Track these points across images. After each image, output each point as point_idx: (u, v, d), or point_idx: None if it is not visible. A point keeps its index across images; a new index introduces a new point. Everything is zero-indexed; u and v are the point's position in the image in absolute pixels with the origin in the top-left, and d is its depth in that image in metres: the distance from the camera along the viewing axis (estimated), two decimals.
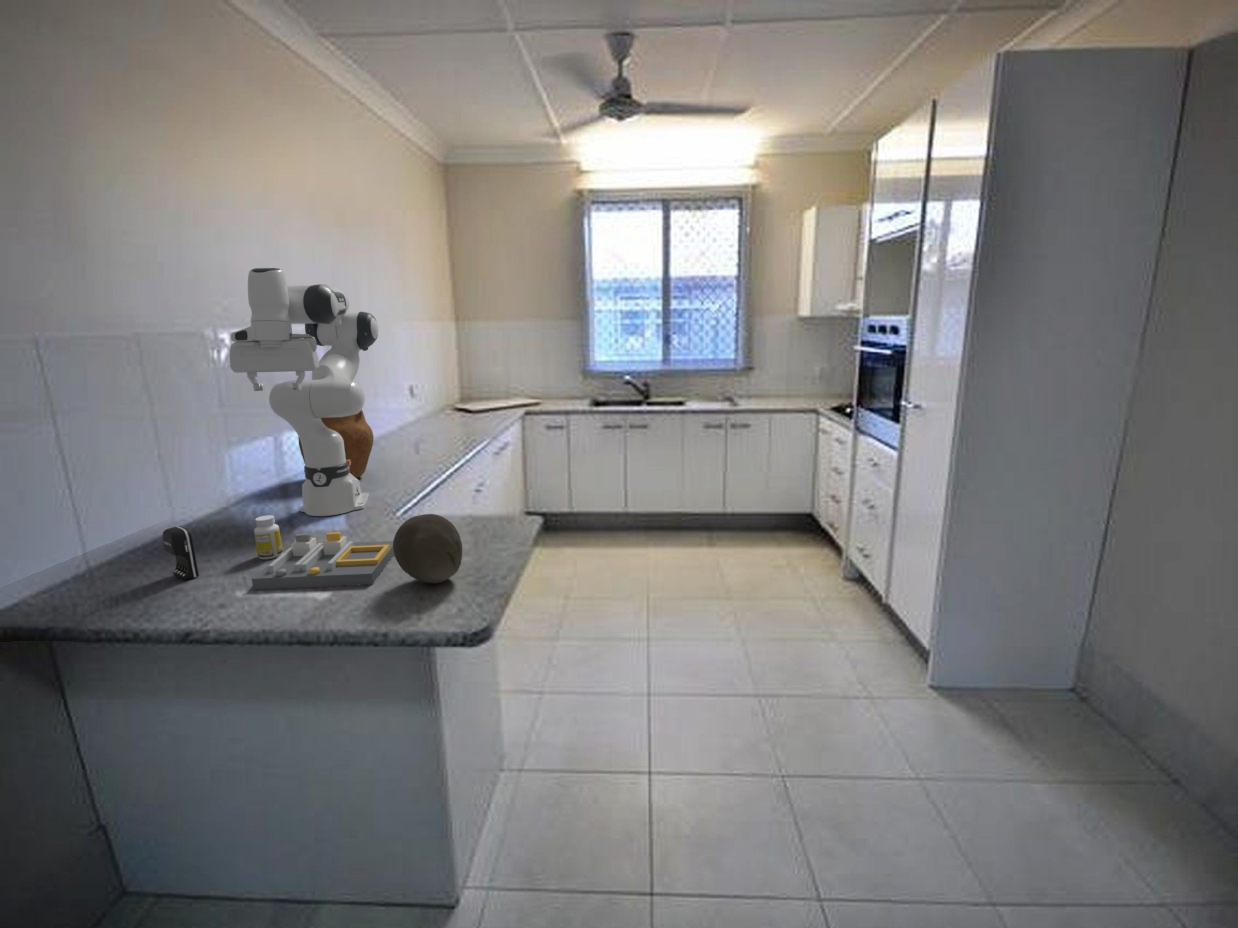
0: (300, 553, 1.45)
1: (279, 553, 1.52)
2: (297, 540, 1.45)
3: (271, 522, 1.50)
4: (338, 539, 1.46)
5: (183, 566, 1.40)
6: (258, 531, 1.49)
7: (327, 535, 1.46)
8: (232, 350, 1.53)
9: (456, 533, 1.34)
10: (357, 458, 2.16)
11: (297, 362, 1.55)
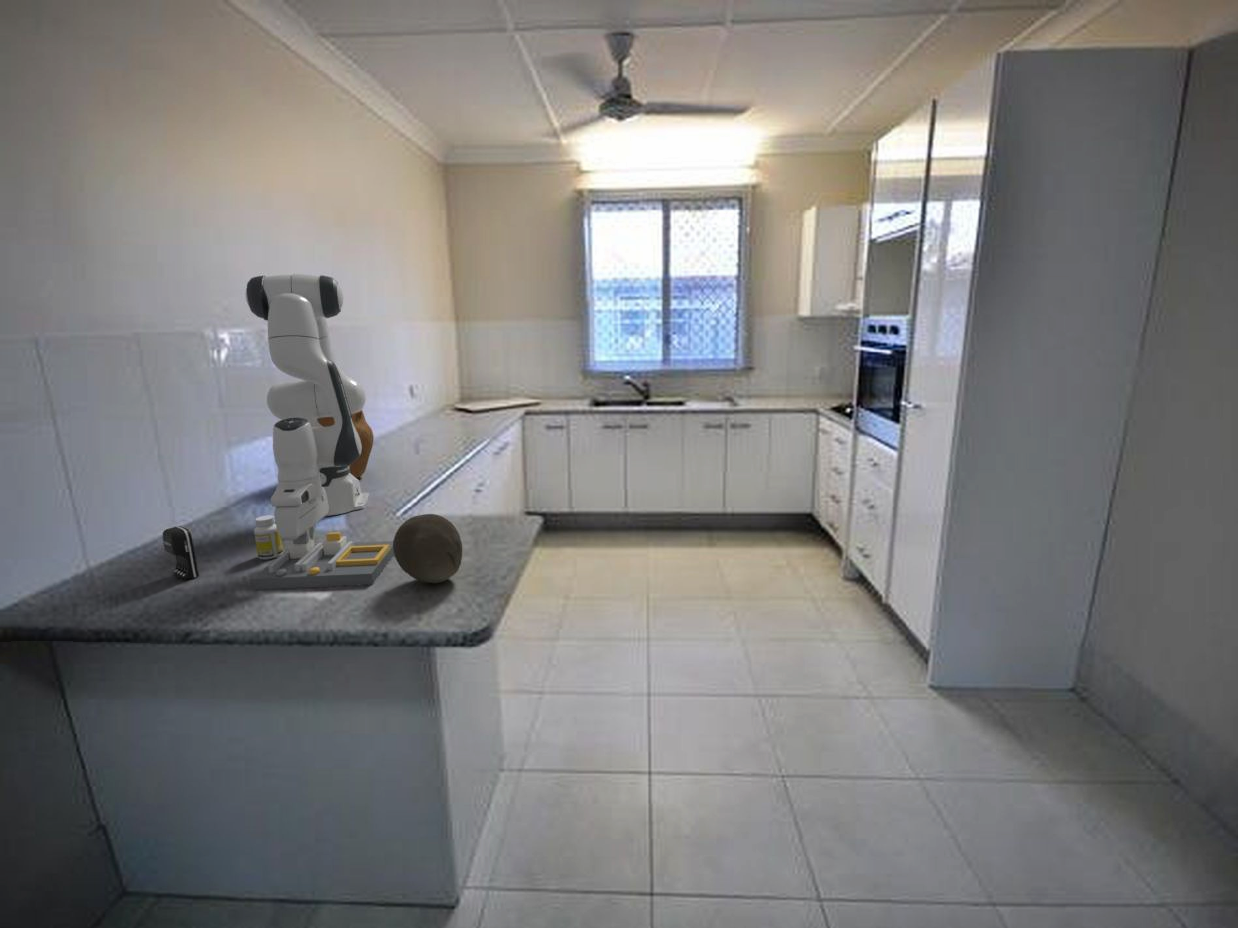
0: (297, 555, 1.43)
1: (279, 553, 1.52)
2: (294, 542, 1.44)
3: (271, 522, 1.50)
4: (338, 539, 1.46)
5: (183, 566, 1.40)
6: (258, 531, 1.49)
7: (327, 535, 1.46)
8: (298, 515, 1.38)
9: (456, 533, 1.34)
10: None
11: (323, 509, 1.53)
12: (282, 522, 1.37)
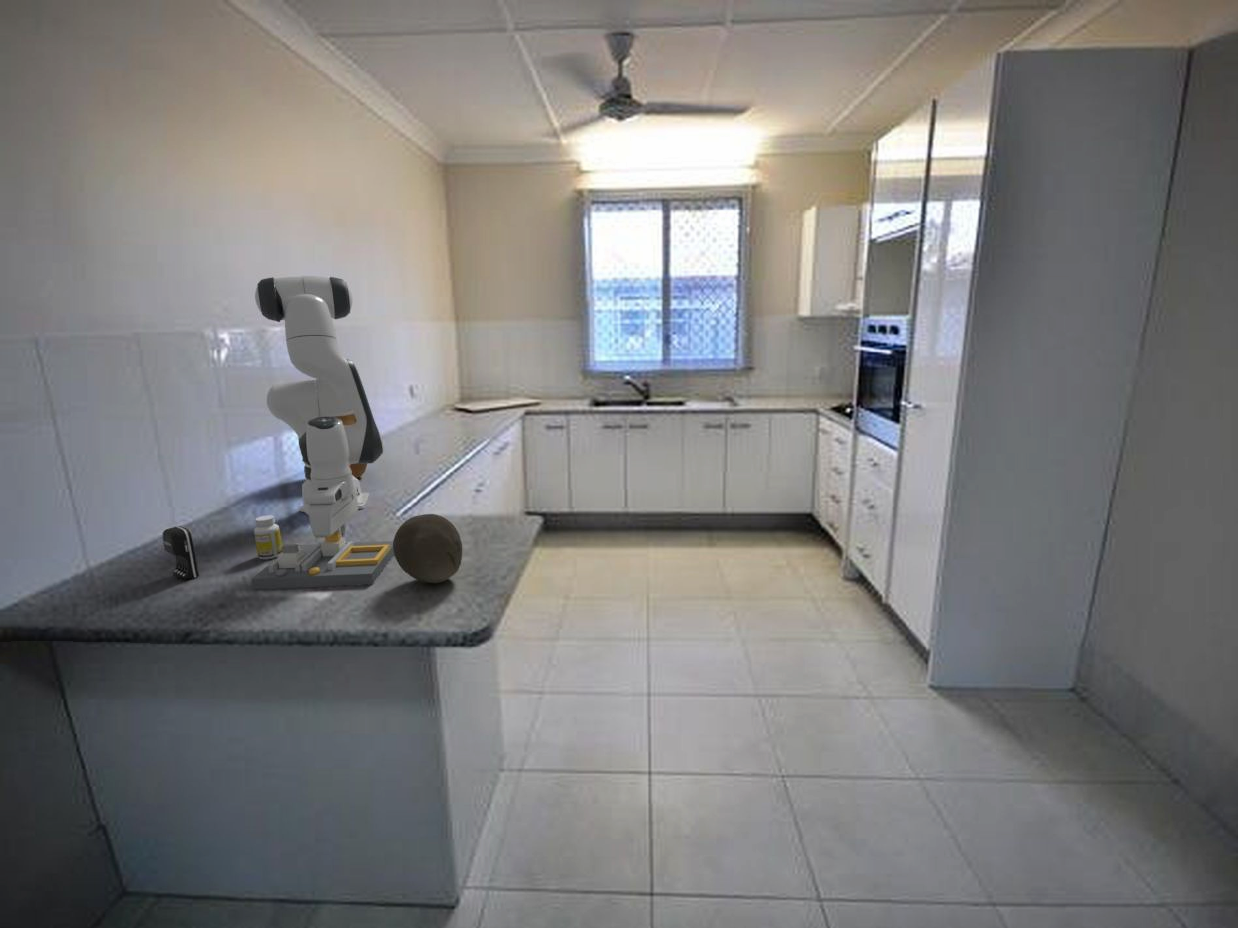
0: (286, 565, 1.38)
1: (279, 553, 1.52)
2: (283, 551, 1.39)
3: (271, 522, 1.50)
4: (337, 540, 1.45)
5: (183, 566, 1.40)
6: (258, 531, 1.49)
7: None
8: (331, 513, 1.39)
9: (456, 533, 1.34)
10: None
11: (353, 507, 1.54)
12: (317, 519, 1.38)
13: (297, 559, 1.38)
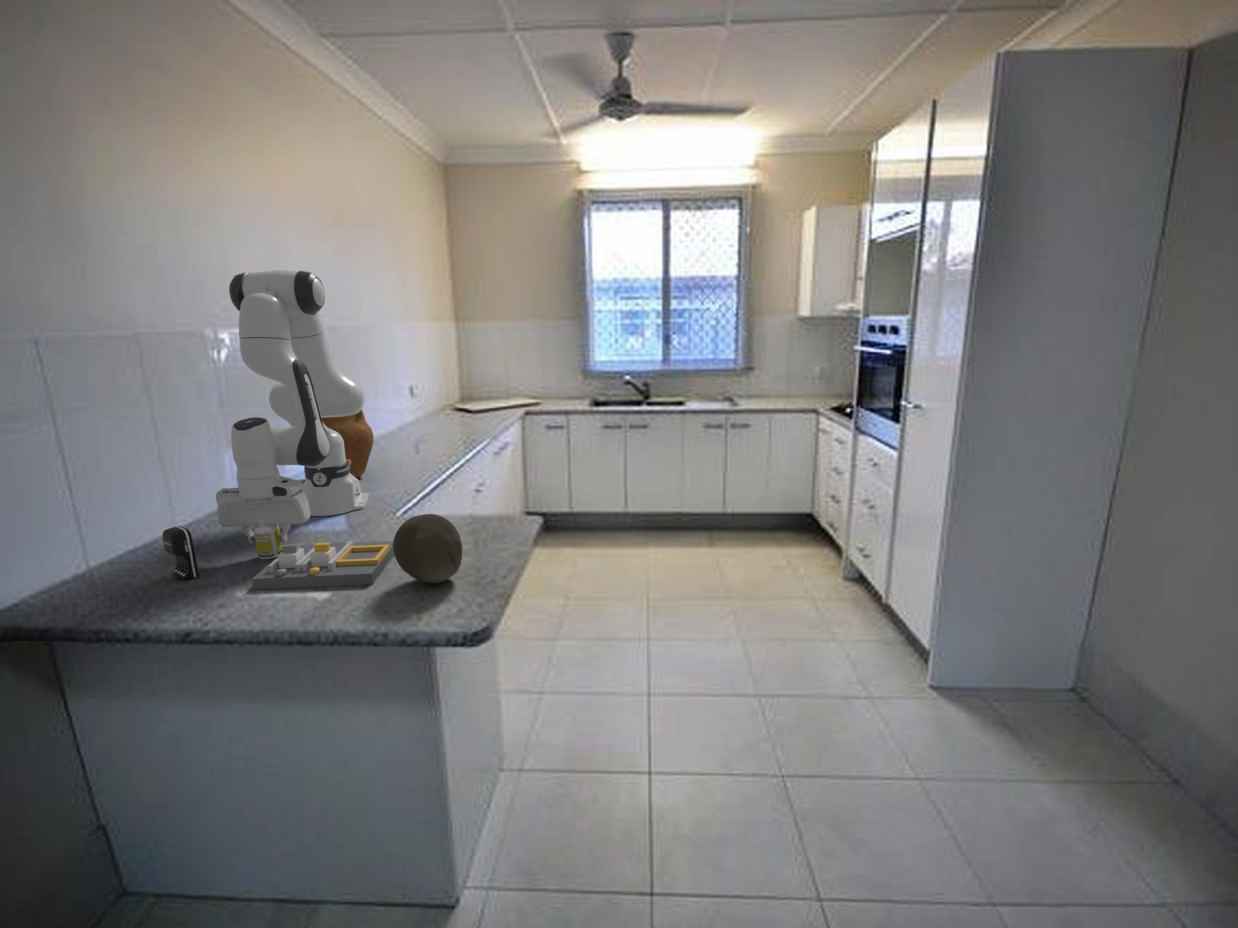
0: (286, 565, 1.38)
1: (279, 553, 1.52)
2: (283, 551, 1.39)
3: None
4: (326, 550, 1.39)
5: (183, 566, 1.40)
6: (258, 530, 1.49)
7: (315, 546, 1.39)
8: None
9: (456, 533, 1.34)
10: (357, 458, 2.16)
11: None
12: (304, 505, 1.50)
13: (297, 559, 1.38)
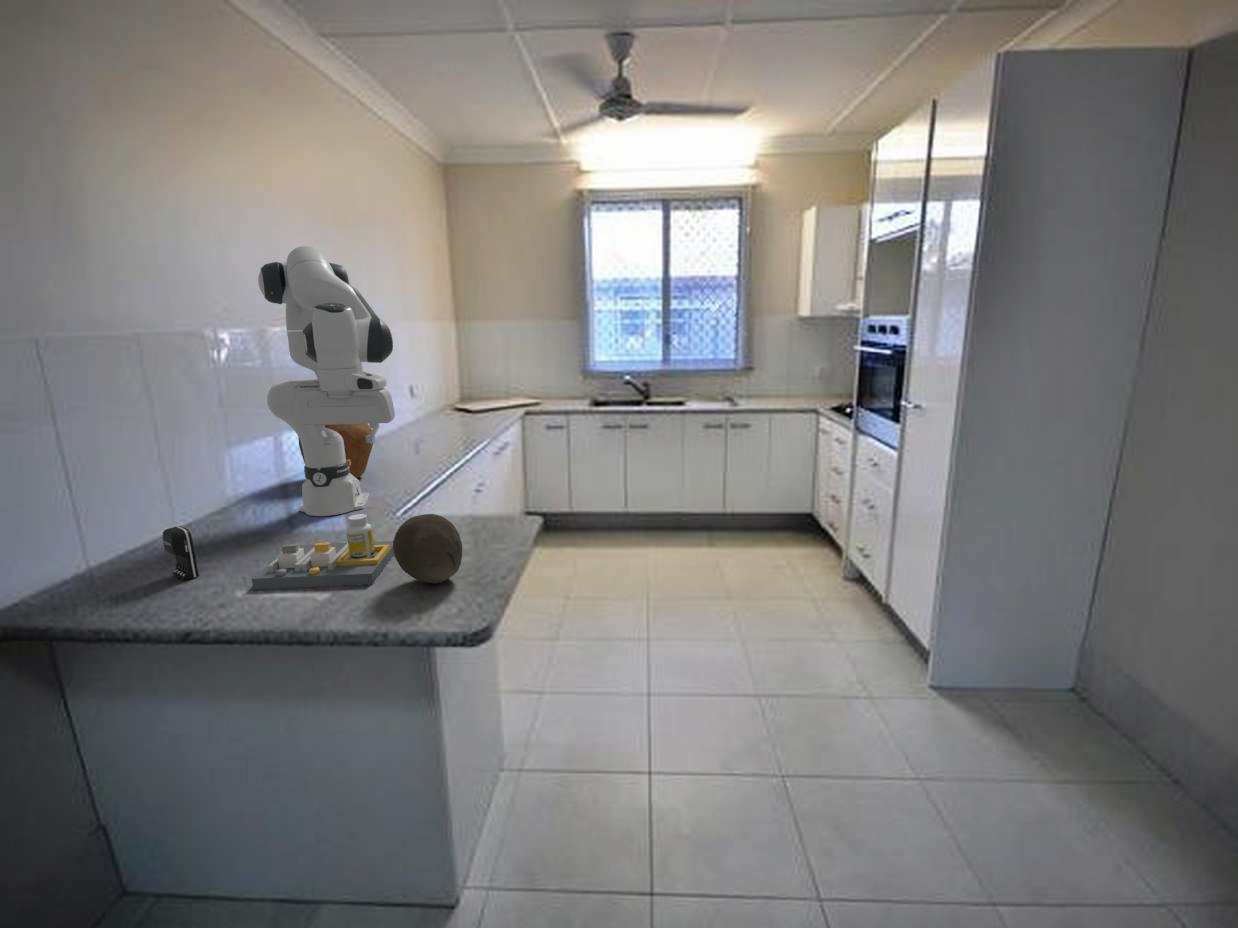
0: (286, 565, 1.38)
1: (372, 554, 1.43)
2: (283, 551, 1.39)
3: (364, 521, 1.41)
4: (326, 550, 1.39)
5: (183, 566, 1.40)
6: (351, 530, 1.40)
7: (315, 546, 1.39)
8: None
9: (456, 533, 1.34)
10: (357, 458, 2.16)
11: None
12: (389, 402, 1.36)
13: (297, 559, 1.38)
